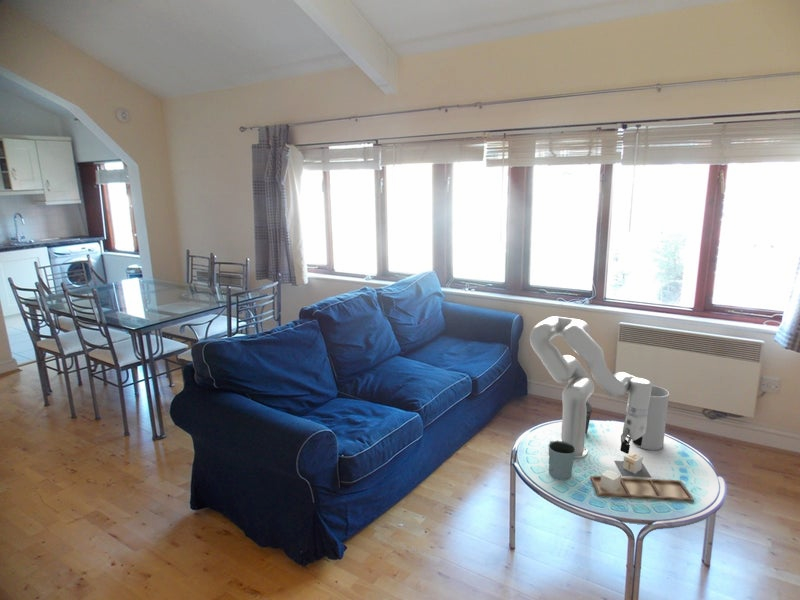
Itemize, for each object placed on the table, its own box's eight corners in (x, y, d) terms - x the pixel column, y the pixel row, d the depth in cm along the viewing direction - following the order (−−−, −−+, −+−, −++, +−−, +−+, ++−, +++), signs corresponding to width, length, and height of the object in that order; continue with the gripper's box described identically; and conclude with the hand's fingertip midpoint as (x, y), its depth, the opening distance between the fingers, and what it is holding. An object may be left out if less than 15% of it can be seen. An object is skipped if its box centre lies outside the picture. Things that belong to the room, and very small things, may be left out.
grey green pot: (541, 471, 201) (543, 444, 198) (559, 464, 205) (561, 438, 203) (561, 484, 192) (562, 456, 189) (579, 476, 197) (581, 449, 194)
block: (619, 488, 188) (620, 475, 187) (612, 493, 185) (613, 480, 184) (607, 482, 192) (608, 469, 191) (600, 487, 189) (601, 474, 188)
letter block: (641, 469, 200) (642, 456, 199) (634, 473, 197) (636, 461, 196) (629, 463, 204) (630, 451, 203) (622, 468, 201) (624, 455, 200)
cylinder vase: (646, 452, 213) (651, 398, 207) (625, 438, 224) (630, 387, 218) (669, 448, 216) (676, 394, 210) (648, 434, 228) (653, 383, 222)
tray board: (597, 497, 184) (598, 493, 184) (590, 478, 195) (590, 475, 195) (693, 502, 180) (694, 499, 179) (680, 483, 191) (680, 480, 190)
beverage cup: (585, 437, 226) (588, 396, 222) (570, 431, 232) (573, 391, 227) (593, 432, 231) (596, 392, 226) (578, 426, 236) (581, 387, 232)
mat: (621, 476, 196) (622, 475, 196) (613, 461, 207) (614, 460, 206) (651, 478, 195) (651, 477, 194) (641, 462, 205) (642, 462, 205)
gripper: (635, 419, 187) (628, 459, 191) (657, 407, 197) (650, 445, 201) (616, 411, 192) (610, 450, 197) (639, 400, 203) (632, 437, 207)
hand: (630, 448), depth 199 cm, fingers open, 9 cm apart
